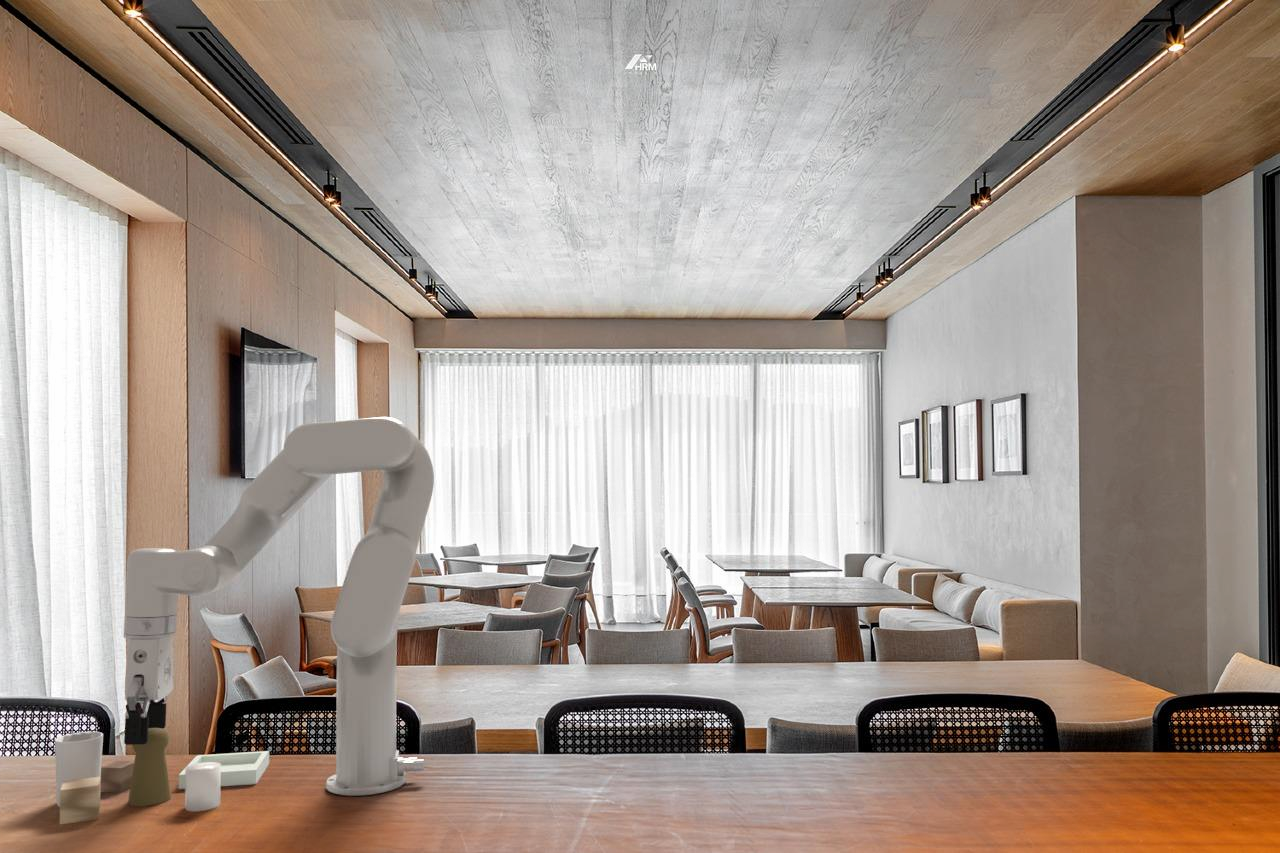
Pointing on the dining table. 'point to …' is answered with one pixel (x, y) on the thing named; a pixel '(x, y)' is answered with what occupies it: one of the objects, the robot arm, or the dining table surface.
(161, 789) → the olive rounded tall piece
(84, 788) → the oak block
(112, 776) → the walnut block
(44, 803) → the dining table surface
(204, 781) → the white rounded cylinder
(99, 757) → the drinking glass
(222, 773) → the tray
